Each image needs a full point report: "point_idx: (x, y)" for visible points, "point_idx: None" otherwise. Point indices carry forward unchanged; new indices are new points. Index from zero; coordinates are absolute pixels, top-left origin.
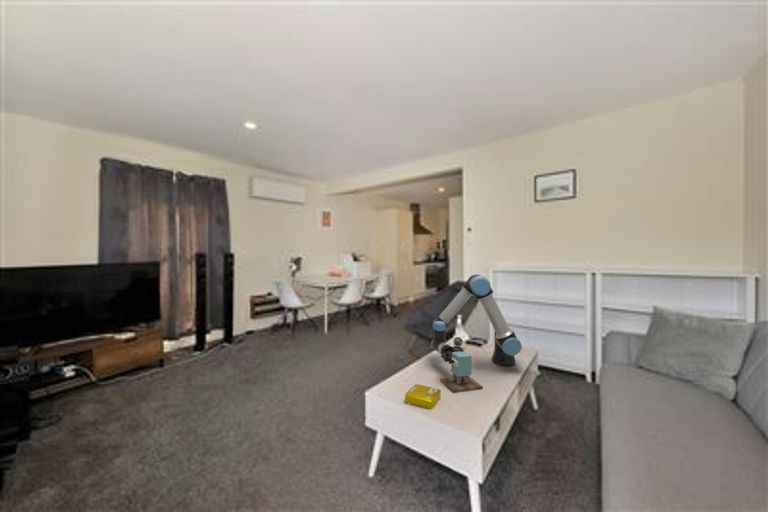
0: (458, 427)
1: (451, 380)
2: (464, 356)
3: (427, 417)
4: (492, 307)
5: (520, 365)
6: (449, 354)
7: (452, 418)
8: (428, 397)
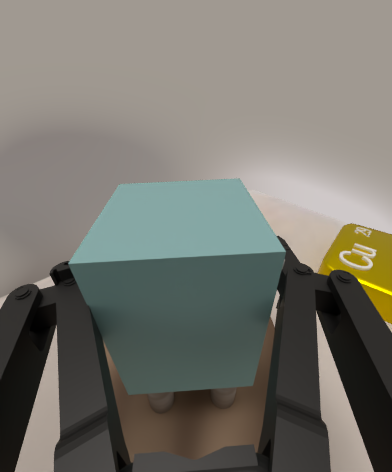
0: (277, 200)
1: (242, 408)
2: (183, 182)
3: (344, 222)
4: None
5: None
6: (298, 394)
7: (285, 214)
8: (363, 232)
